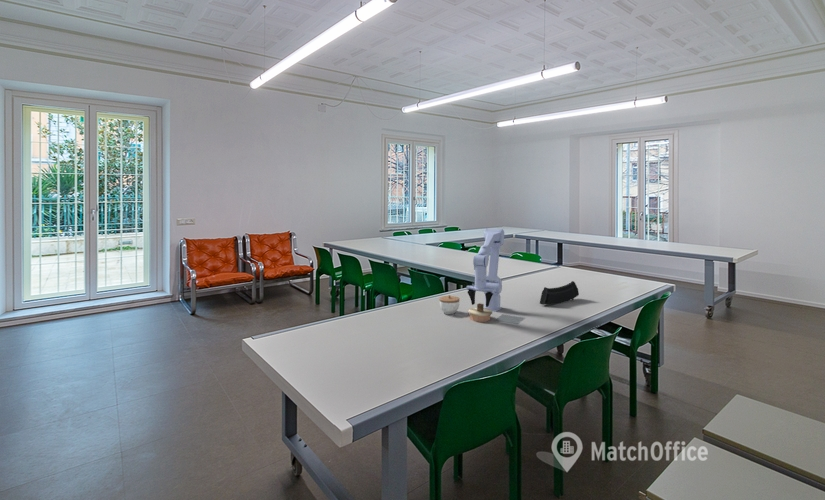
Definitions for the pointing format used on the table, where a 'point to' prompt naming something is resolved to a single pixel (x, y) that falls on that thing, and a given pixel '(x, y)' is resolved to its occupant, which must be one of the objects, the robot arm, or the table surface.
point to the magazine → (559, 294)
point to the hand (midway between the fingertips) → (480, 305)
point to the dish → (479, 318)
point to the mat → (509, 319)
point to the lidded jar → (449, 304)
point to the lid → (480, 311)
